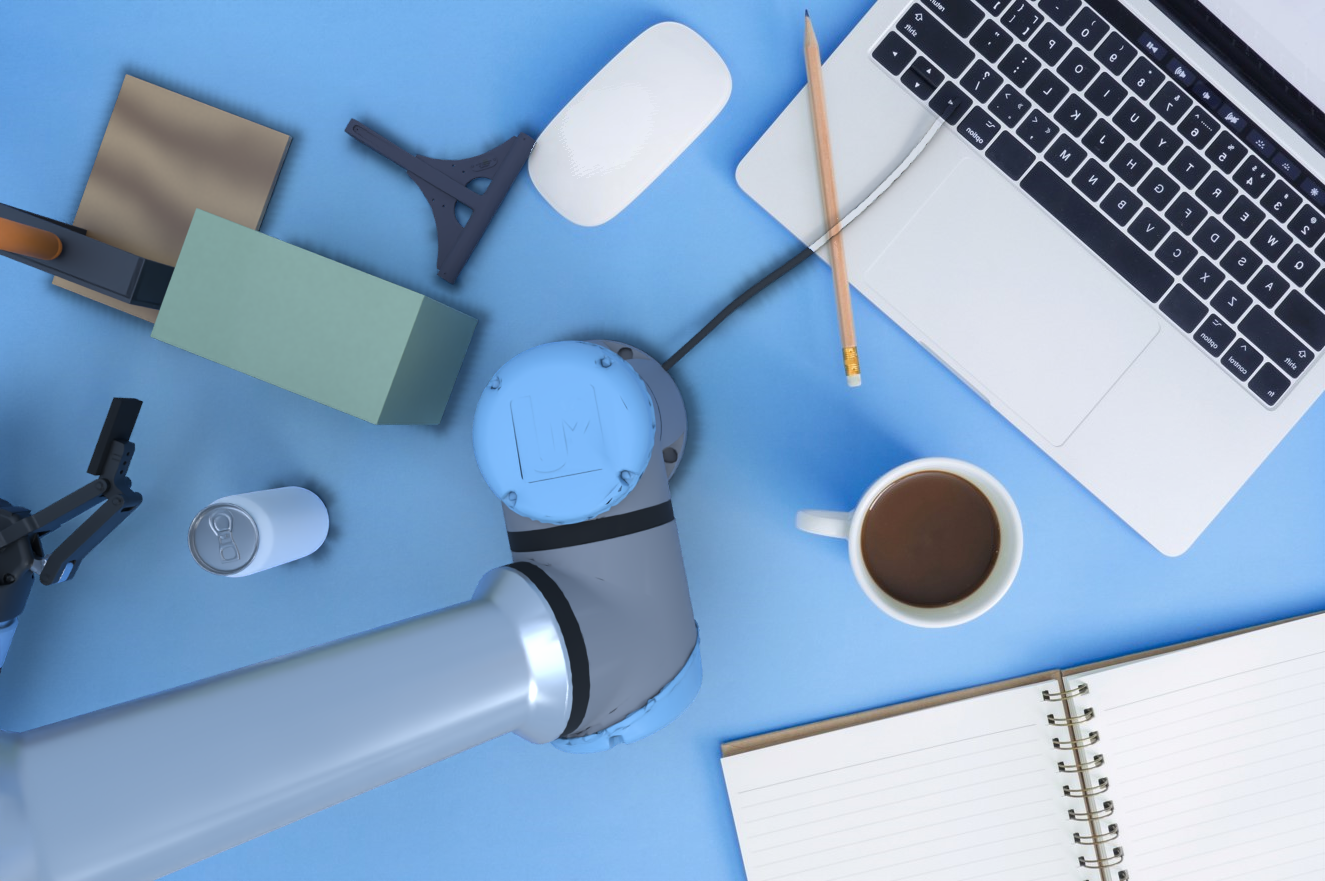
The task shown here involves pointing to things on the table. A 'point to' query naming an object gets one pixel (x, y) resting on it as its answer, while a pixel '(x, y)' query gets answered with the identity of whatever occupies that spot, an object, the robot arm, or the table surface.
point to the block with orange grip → (81, 258)
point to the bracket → (455, 189)
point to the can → (257, 531)
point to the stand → (312, 325)
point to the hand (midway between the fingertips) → (53, 369)
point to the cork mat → (172, 176)
